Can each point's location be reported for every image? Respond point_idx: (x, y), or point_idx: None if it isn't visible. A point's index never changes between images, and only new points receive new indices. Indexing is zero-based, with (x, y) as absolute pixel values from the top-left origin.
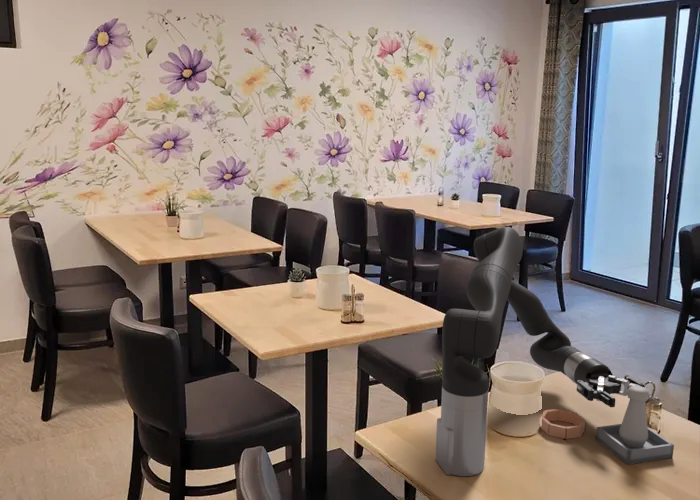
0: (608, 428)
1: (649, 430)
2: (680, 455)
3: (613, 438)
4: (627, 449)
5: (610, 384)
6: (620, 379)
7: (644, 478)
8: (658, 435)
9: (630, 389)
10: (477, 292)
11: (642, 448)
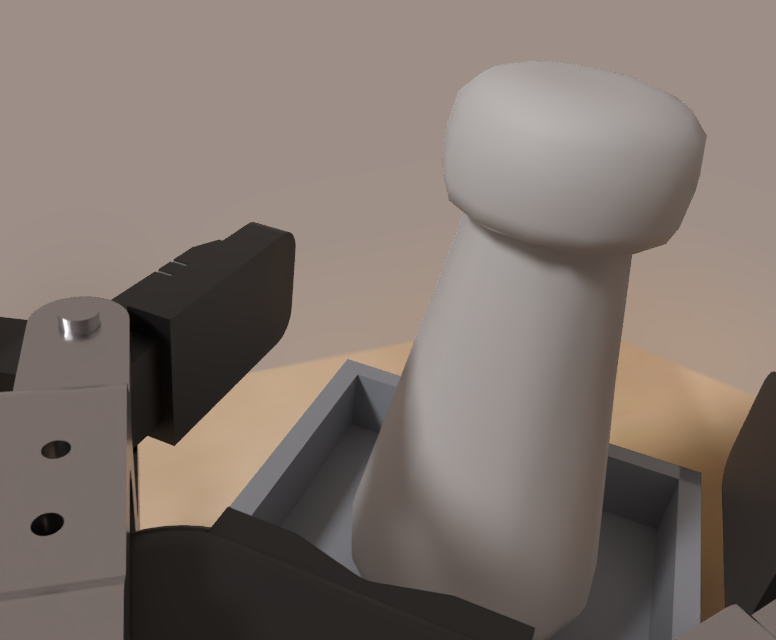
0: None
1: (256, 510)
2: (270, 417)
3: (687, 621)
4: (693, 488)
5: (406, 622)
6: (45, 502)
7: (675, 444)
8: (296, 442)
9: (694, 122)
10: None
11: None
